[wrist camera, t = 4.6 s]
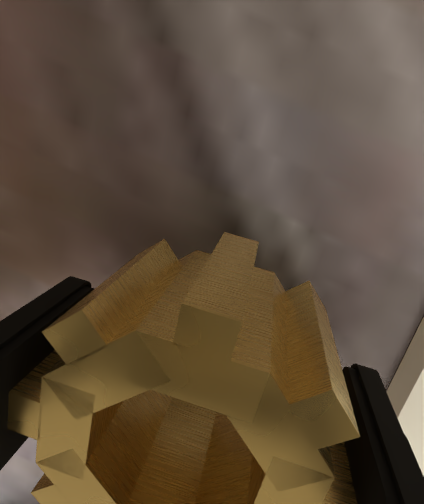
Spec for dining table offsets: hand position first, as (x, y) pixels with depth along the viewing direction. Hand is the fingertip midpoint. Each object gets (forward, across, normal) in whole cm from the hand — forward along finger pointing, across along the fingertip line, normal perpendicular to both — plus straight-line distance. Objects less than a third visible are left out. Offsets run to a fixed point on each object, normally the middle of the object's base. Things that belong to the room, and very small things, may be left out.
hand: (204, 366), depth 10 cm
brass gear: (+1, 0, 0) cm, 1 cm away
